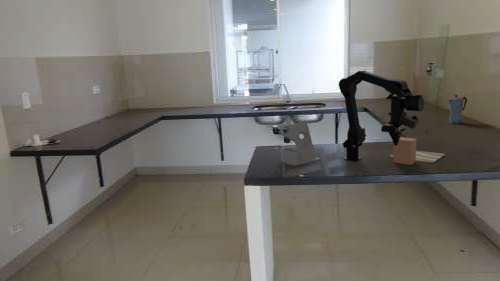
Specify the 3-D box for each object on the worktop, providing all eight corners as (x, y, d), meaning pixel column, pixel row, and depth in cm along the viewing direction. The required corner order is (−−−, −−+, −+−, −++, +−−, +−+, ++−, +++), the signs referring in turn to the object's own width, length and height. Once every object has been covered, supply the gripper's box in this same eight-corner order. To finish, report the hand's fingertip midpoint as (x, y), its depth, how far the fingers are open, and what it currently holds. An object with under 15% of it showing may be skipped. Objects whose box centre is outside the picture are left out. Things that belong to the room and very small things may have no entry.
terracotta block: (410, 164, 168) (411, 141, 165) (393, 162, 173) (393, 139, 171) (415, 162, 172) (416, 138, 170) (398, 159, 177) (399, 137, 175)
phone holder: (293, 166, 174) (292, 128, 171) (280, 161, 183) (279, 125, 179) (320, 159, 183) (320, 123, 180) (307, 155, 192) (306, 121, 188)
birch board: (432, 163, 168) (432, 162, 168) (389, 157, 182) (389, 156, 182) (444, 155, 181) (444, 154, 181) (403, 150, 194) (403, 149, 194)
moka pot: (442, 122, 268) (443, 94, 264) (458, 120, 272) (460, 93, 268) (452, 124, 259) (454, 95, 255) (470, 122, 264) (472, 94, 259)
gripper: (408, 113, 148) (406, 151, 151) (424, 108, 161) (422, 143, 165) (381, 112, 156) (380, 148, 159) (398, 107, 169) (397, 140, 172)
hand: (396, 145), depth 163 cm, fingers closed
